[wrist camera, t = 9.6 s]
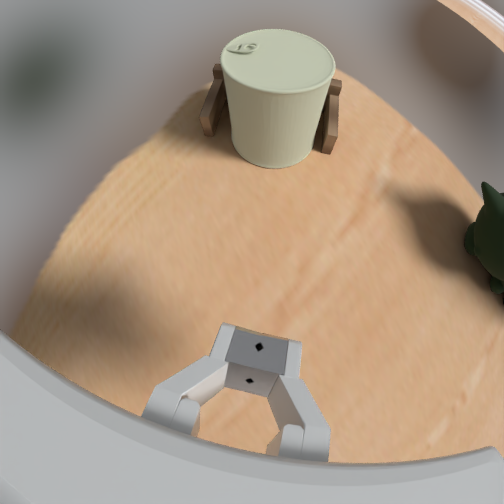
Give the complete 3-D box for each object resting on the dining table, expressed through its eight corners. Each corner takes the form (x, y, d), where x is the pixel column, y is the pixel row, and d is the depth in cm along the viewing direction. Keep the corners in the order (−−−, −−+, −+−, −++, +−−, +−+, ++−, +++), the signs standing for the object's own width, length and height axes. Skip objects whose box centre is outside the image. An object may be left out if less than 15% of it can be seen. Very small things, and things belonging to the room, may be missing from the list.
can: (245, 98, 30) (239, 19, 18) (320, 115, 29) (341, 37, 17) (220, 158, 28) (199, 77, 16) (305, 179, 27) (331, 101, 16)
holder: (330, 154, 28) (341, 128, 23) (204, 135, 29) (196, 107, 24) (332, 108, 29) (341, 80, 24) (220, 91, 30) (215, 63, 25)
